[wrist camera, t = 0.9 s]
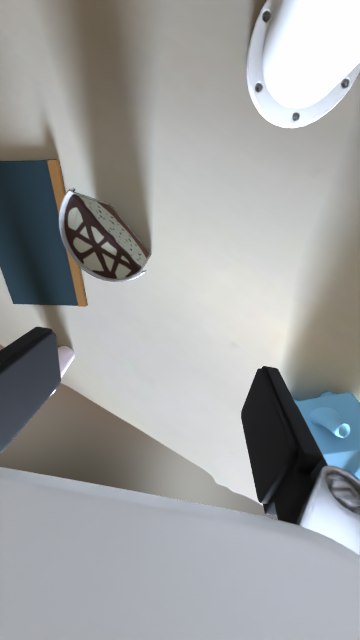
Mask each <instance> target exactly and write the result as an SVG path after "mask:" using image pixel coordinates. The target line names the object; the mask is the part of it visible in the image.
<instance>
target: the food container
mask: <svg viewBox="0 0 360 640" xmlns="http://www.w3.org/2000/svg"><path fill="white" fill-rule="evenodd" d="M74 191H75V189H74V188H73V189H69V190H68V192H67V193H66V195H65V196H64V199H63V201H62V203H61V207H60V212H59V229H60V234H61V238H62V241H63V243H64V246H65V248H66V250H67V252H68V253H69V255H70V256H71V258H72V259H73V260H74V261H75V263H76V264H77V265H78V266H79V267H81V268H82V269H83V270H84V271H86V272H87V273H88V274H90V275H92V276H94V277H96V278H99V279H101V280H104V281H110V282H123V281H129V280H132V279H135V278H138V277H140V276H141V275H143V274H144V273H146V272H147V271H142V270H143V268H144V266H145V264H146V263H147V261H148V259H149V257H150V256H151V254H152V253H151V252H150V251H149V250H148V248H147V247H146V246H145V245H144V244H143V243H142V241H141V240H140V239H139V238H138V237H137V235H136V234H135V233H134V232H133V231H132V230H131V228H130V227H129V226H128V225H127V224H126V222H125V221H124V220H123V219H122V218H121V217H120V215H119V214H118V213H117V212H116V211H115V209H114V208H113V207H112V206H111V205H110V204H109V203H106V202H103V201H100V200H97V199H94V198H91V197H88V196H85V195H82V194H79V193H76V192H74Z"/></svg>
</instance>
